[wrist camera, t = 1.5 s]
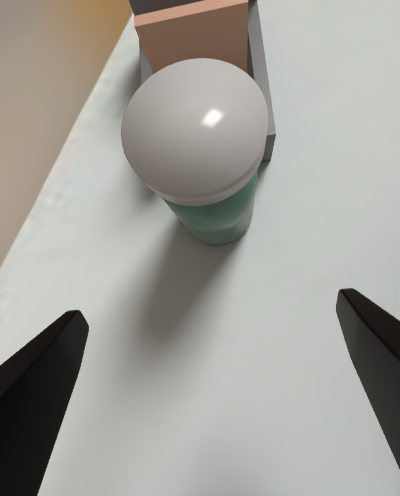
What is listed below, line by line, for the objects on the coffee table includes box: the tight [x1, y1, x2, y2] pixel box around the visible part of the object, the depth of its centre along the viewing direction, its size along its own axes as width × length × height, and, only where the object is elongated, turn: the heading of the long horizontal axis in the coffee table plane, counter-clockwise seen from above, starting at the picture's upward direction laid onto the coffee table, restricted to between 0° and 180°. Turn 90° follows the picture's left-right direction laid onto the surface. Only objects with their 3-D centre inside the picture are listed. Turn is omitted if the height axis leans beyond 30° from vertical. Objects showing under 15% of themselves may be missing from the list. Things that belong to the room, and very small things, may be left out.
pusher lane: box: [129, 0, 276, 162], centre depth 23 cm, size 15×10×7 cm, turn 5°
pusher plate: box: [134, 0, 248, 74], centre depth 21 cm, size 1×7×9 cm, turn 94°
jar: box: [121, 58, 268, 245], centre depth 18 cm, size 6×6×12 cm
